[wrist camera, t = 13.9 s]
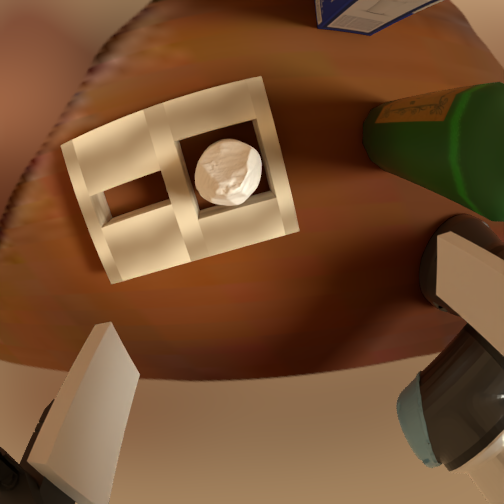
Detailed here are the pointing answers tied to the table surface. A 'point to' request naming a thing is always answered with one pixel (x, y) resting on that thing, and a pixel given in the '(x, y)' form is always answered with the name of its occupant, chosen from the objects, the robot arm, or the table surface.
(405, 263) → the table surface
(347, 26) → the milk carton
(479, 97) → the bottle
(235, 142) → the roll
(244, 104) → the socket board
